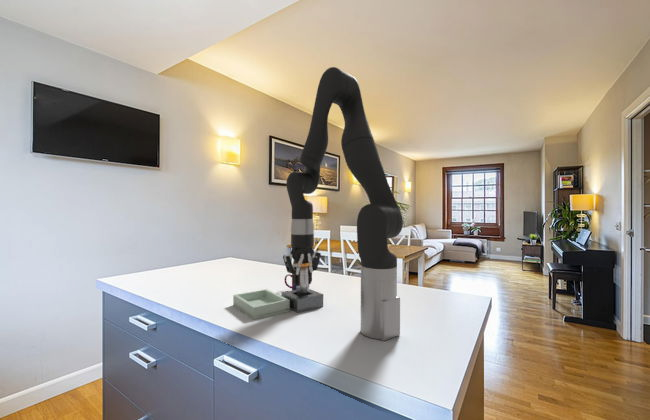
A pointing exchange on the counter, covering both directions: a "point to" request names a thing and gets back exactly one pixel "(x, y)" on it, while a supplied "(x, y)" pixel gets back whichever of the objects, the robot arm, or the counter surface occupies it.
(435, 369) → the counter surface
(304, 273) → the pin
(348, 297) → the counter surface
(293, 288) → the mug
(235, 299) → the tray
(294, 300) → the block
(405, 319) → the counter surface
